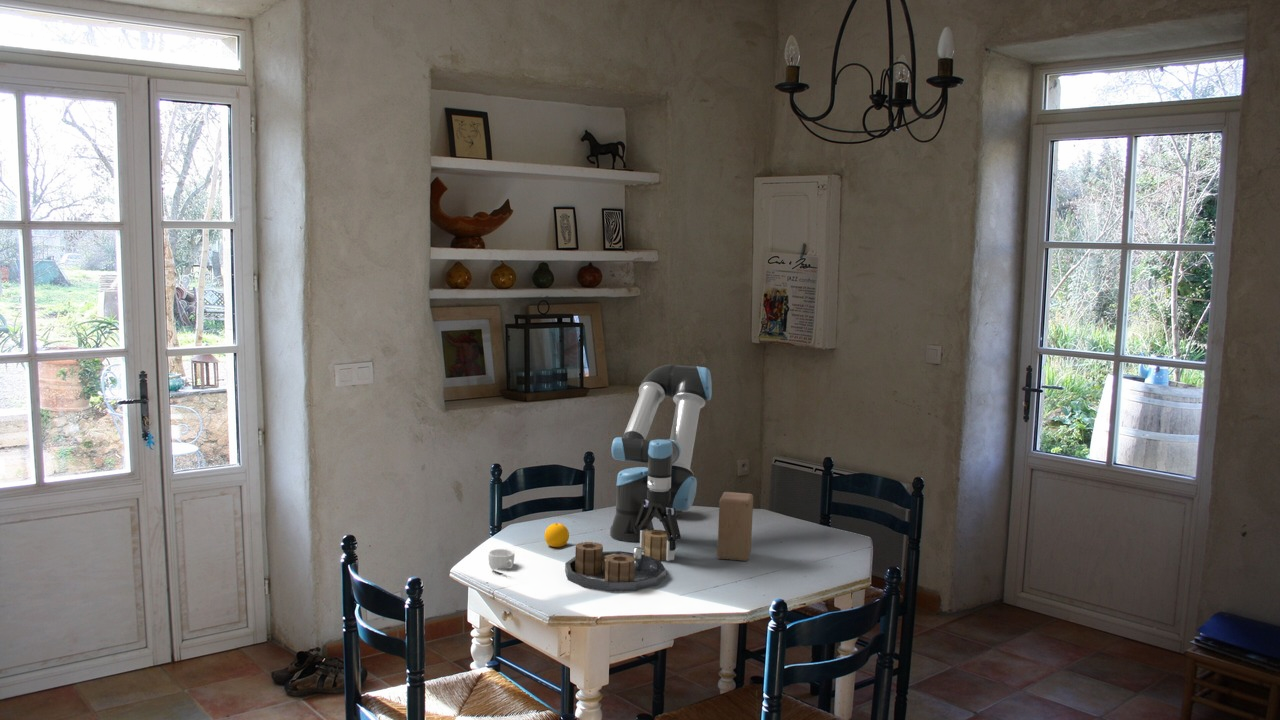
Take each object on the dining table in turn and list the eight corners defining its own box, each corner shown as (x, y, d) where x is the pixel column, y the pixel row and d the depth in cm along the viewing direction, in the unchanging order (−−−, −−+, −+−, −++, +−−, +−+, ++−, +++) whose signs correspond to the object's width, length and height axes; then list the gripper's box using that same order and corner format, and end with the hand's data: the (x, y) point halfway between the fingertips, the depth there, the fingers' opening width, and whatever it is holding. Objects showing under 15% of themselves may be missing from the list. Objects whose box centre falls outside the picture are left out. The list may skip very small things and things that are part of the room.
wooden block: (748, 562, 312) (750, 500, 310) (716, 559, 314) (719, 498, 312) (750, 553, 322) (753, 493, 319) (720, 550, 324) (723, 490, 321)
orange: (553, 550, 317) (554, 528, 316) (539, 544, 323) (540, 522, 322) (573, 546, 322) (574, 524, 322) (559, 540, 328) (559, 518, 327)
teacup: (483, 568, 297) (483, 551, 296) (505, 564, 302) (505, 547, 301) (500, 577, 289) (501, 560, 289) (523, 573, 294) (523, 555, 294)
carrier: (546, 575, 293) (547, 548, 292) (622, 558, 312) (623, 533, 311) (606, 603, 271) (607, 575, 270) (684, 583, 290) (685, 557, 289)
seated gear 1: (569, 570, 294) (570, 545, 293) (587, 564, 300) (588, 540, 299) (589, 576, 288) (589, 551, 288) (607, 570, 295) (608, 546, 294)
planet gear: (638, 555, 315) (639, 532, 315) (657, 550, 321) (658, 528, 320) (655, 561, 309) (656, 538, 309) (674, 557, 314) (675, 534, 314)
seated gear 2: (600, 585, 281) (601, 560, 280) (613, 577, 288) (613, 552, 287) (625, 590, 278) (626, 564, 277) (637, 582, 285) (638, 557, 284)
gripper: (625, 482, 319) (623, 547, 322) (676, 498, 301) (673, 566, 303) (643, 479, 324) (641, 543, 327) (693, 495, 306) (691, 562, 308)
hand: (656, 554), depth 315 cm, fingers open, 12 cm apart
